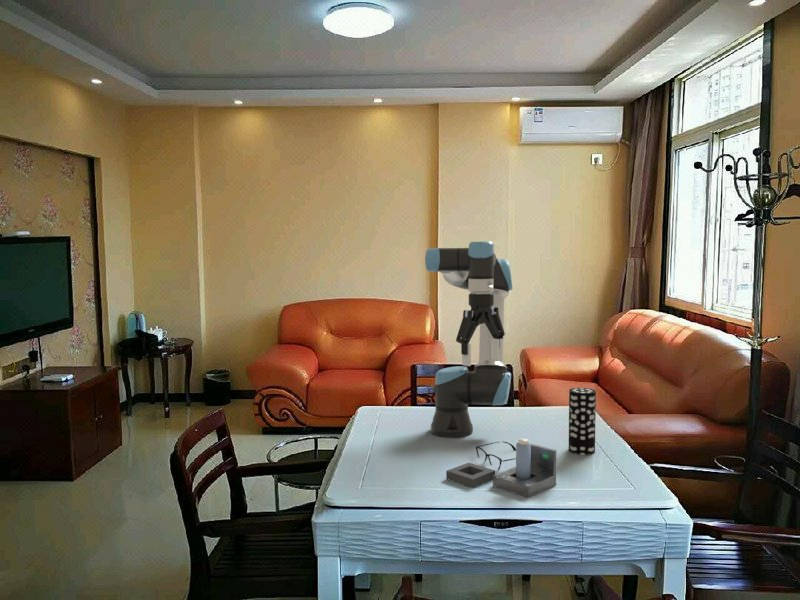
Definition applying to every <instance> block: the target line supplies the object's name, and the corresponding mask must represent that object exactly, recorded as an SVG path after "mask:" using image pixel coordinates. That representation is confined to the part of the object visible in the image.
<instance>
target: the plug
mask: <svg viewBox="0 0 800 600" xmlns="http://www.w3.org/2000/svg"><path fill="white" fill-rule="evenodd" d="M531 444H532V443H530V441H529V439H528V438H518V442H517V443H515V448H516V451H515V458H516V459H515V467H516V478H519V479H522V480H525V481H526V480H528V479H530V477H531Z"/></svg>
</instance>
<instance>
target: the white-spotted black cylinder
mask: <svg viewBox="0 0 800 600" xmlns="http://www.w3.org/2000/svg"><path fill="white" fill-rule="evenodd" d="M568 391H569V392H568V395H569V396H568V451H569V452H570V453H572V454H575V455H579V456H580V455H581V456H590V455H594V454H595V453H596V417H597V416H596V415H597V414H596V413H597V412H596V411H597V408H596V407H597V406H596V405H597V404H596V403H597V400H596V397H597V391H596V390H595V389H593V388H589V387H572V388H569V390H568Z"/></svg>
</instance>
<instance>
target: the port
mask: <svg viewBox="0 0 800 600" xmlns="http://www.w3.org/2000/svg"><path fill="white" fill-rule="evenodd" d="M530 444H531V477H530V479H528V480H526V481H525V480H522V479H519V478H516V466H514V467H512V468H509V469H506V470H503V471H502V472H498V473H495V475H493V480H492V487H494V486H496V487H495V488H497V487H499V488H498V489H500V488H502V489H501V490H503V489H505V490H504V491H506V490H508V491H507V492H509V491H511V492H510V493H512V492H514V493H513V494H515V493H516V494H515V495H519V496H522V497H525V498H528V499H529V498H530V497H533V496H536V495H537V494H539V492H540V493H542V492H543V491H546V490H548V489H551V488H553V487H555V486H556V485H557V449H552V448H549V447H545V446H541V445H537V444H533V443H530Z"/></svg>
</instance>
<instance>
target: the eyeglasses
mask: <svg viewBox="0 0 800 600" xmlns="http://www.w3.org/2000/svg"><path fill="white" fill-rule="evenodd" d="M496 443H499V441H496V442H490V443H486V444H481V445H477V446H474V448H475V451H476V455H477V458H479V459H480V455H479V450H481V451H482V452H483V453H484V454H485V458H484V462H487V460H488V462H489V464H490V465H491V466H493V464H492V462H491V457H494V458H495V459H498V461H499V466H498V467H497V469H501V466H502V463H503V462H504V463H505V462H508V461H514V460H516V457H513V458H510V459H504V460H503V459H502V458H500V457H499V456H497V455H495V454H491V453H487V452H486V450H484V449H483V448H481V447H484V446H489V445H492V444H496ZM503 443H505V444H508V445H509V446H510V447H511V448H512V449H513V451H514V452H516V446H514V445H513V444H511V443H509V442H507V441H503ZM478 449H479V450H478ZM490 456H491V457H490Z"/></svg>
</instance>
